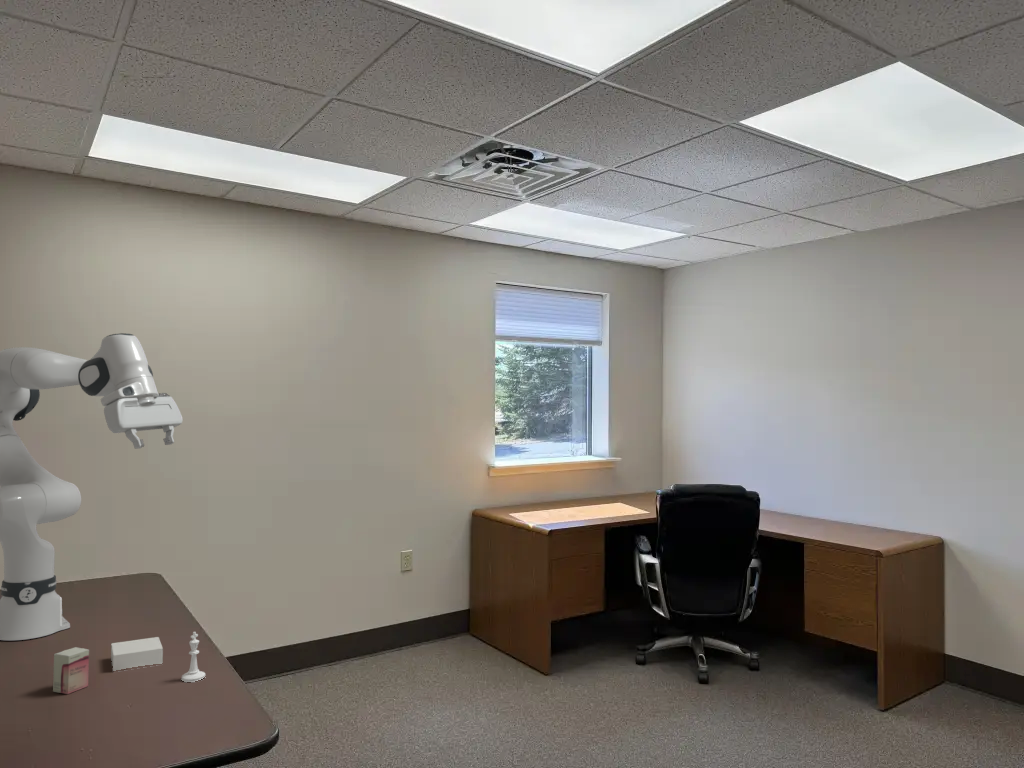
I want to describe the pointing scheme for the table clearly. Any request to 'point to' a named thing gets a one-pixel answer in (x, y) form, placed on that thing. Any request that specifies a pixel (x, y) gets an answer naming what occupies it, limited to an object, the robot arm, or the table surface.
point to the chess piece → (193, 663)
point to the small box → (70, 670)
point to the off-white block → (136, 653)
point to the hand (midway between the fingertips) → (155, 445)
